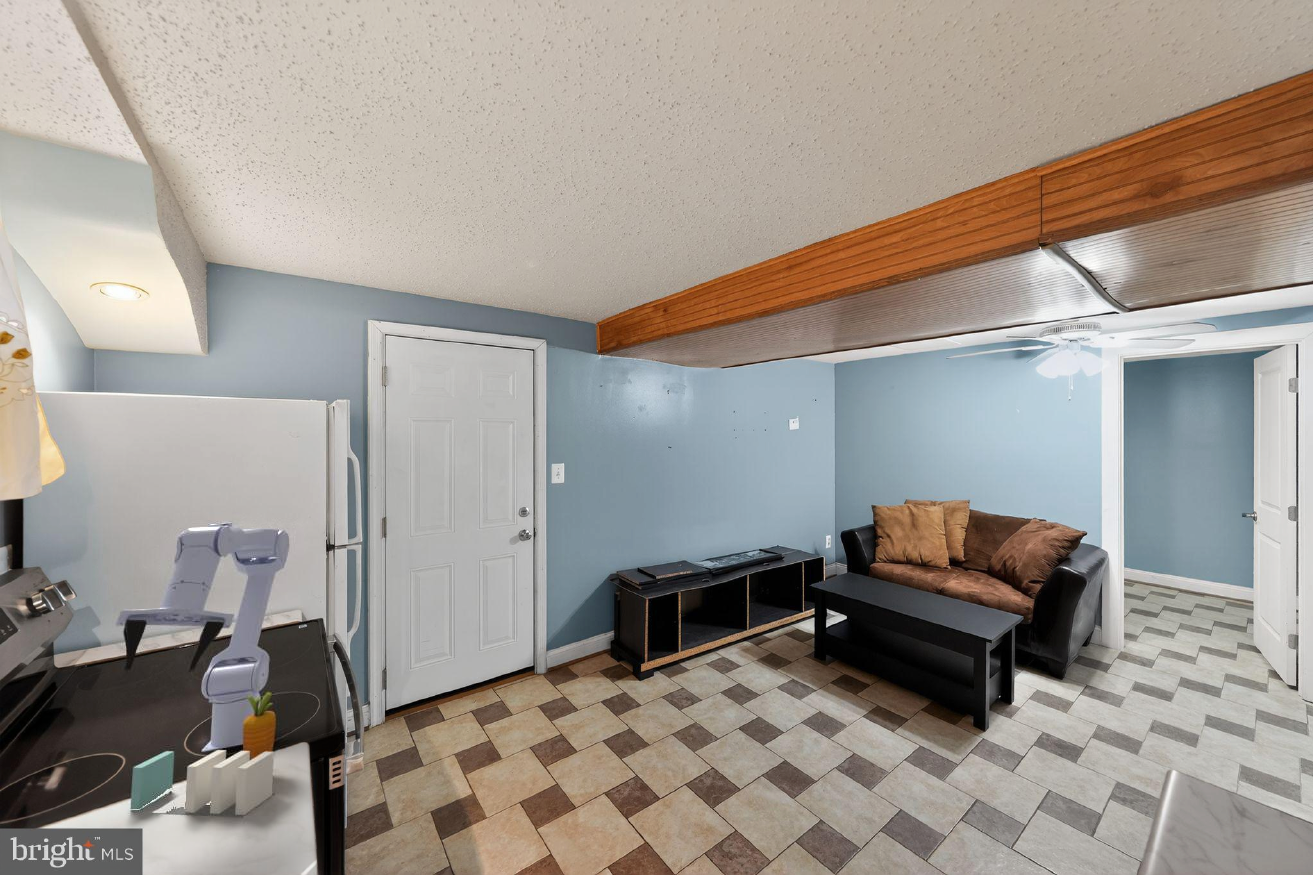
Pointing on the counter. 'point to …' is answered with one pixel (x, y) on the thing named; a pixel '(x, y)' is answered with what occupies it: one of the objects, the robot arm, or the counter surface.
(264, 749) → the carrot
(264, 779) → the domino
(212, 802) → the domino
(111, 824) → the counter surface
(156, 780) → the tile
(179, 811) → the mat
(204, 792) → the domino
